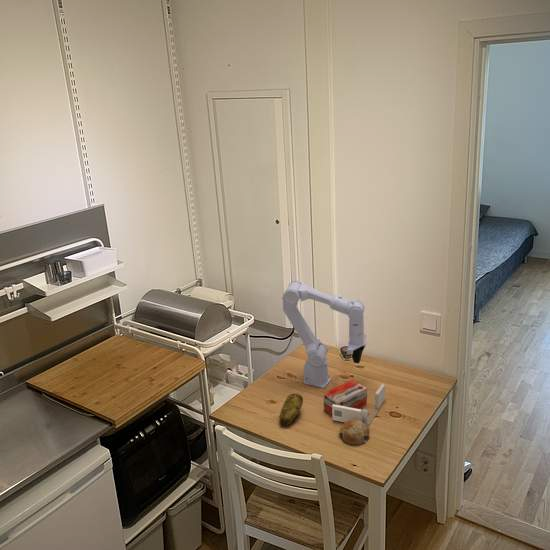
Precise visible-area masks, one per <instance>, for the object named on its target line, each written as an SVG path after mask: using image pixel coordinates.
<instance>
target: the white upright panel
mask: <svg viewBox="0 0 550 550" xmlns="http://www.w3.org/2000/svg"><path fill="white" fill-rule="evenodd" d="M385 399H386V384H384V383H381V385H380V386H379V387H378V389H377V390H376V392H375V394H374V407H373V408H372V409H371V410H370V412H368V409H366V408H363V409H361V421H362V422H363V423H365V424H366V425H367V427H368V426H370V425H371V424H372V422H373V420H374V419H375V417H376V416H377V415H378V413H379V411H380V407H381V406H382V405H383V402H384V401H385ZM368 428H369V427H368Z"/></svg>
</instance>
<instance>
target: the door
mask: <svg viewBox="0 0 550 550" xmlns="http://www.w3.org/2000/svg"><path fill="white" fill-rule="evenodd" d="M331 416H332V417H331V418H332V421H337V422H341V423H345V422H347V421H349V420H358V421H362V408H360V409H355V408H350V407H345V406H340V405H334V404H333V405H332V415H331Z"/></svg>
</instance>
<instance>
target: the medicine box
mask: <svg viewBox="0 0 550 550" xmlns="http://www.w3.org/2000/svg"><path fill="white" fill-rule="evenodd" d="M367 390H368V389H367V387H366V386H364V385H362V384H360V383H359V382H357V381H355V380H353V379H351V380H349V381H346V382H345V383H343V384H342V383H341V384H340V385H338V386H336V387H334V388H332V389H329V390H328V391H325V392H324V393H323V410H324V412H326V411H327V412H326V413H328V414H329V413H330V415H331V416H332V405H333V404H334V405H340V406H345V407H350V408H355V409H362V408H364V407H366V406H367V402H368V401H367V399H368V391H367Z"/></svg>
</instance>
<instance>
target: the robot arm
mask: <svg viewBox="0 0 550 550" xmlns="http://www.w3.org/2000/svg"><path fill="white" fill-rule="evenodd" d="M281 299H282V311H283V312H284V315H285V316H286V317H287V319H288V321H289V322H290V324H291V326H292V327H293V329H294V331H295V332H296V334H297V336H298V337H299V338H300V340H301V341H302V343H303V344H304V346H305V352H306V356H307V357H308V359H306V360H305V362H304V365H303V384H304V385H310V386H313V387H317V388H322V389H324V388H325V387H326V386H328V385H329V383H330V382H331V381H332V377H329V374H328V369H329V368H328V359H327V354H328V351H329V350H328V347H327V346H326V345H325V344H324V343H322V342H321V340H320V339H319V338H316V336H315V334H314V333H313V331H312V330H311V328H310V326H309V325H308V323H307V322H306V320H305V318H304V316H303V315H302V313H301V312H300V310H299V308H298V307H297V306H298V302H299V301H300V302H303V301H306V300H307V301H308V300H312V301H316V302H319V303H322V304H326V305H328V306H329V307H330V309H331V310H334V311H336V312H339V313H341V314H344V315H347V316H348V319H349V320H348V335H349V336H348V345H347V346H348V347H347V350H346V354H347V355H351V357H352V360H353V363H354V364H360V362H361V361H362V360H361V358H362V355H363V351H364V350H365V348H366V346H367V344H368V343H367V341H366V337H367V336H366V334H365V322H364V317H365V316H364V312H365V304H364V303H363V302H362V301H360V300H359V299H357V300H356V299H355V300H353V299H352V300H350V299H347V298H345V297H343V295H341V294H339V295H333V296H332V295H329V294H327V293H324V292H322V291H320V290H318V289H316V288H313V287H312V286H309V285H308V284H307V283H306V282H301V281H299V280H293V281H291V282H290V283H289V284H288V287H287V289H286V290H285V291H284V293H283V295H282V298H281ZM365 341H366V342H365Z"/></svg>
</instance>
